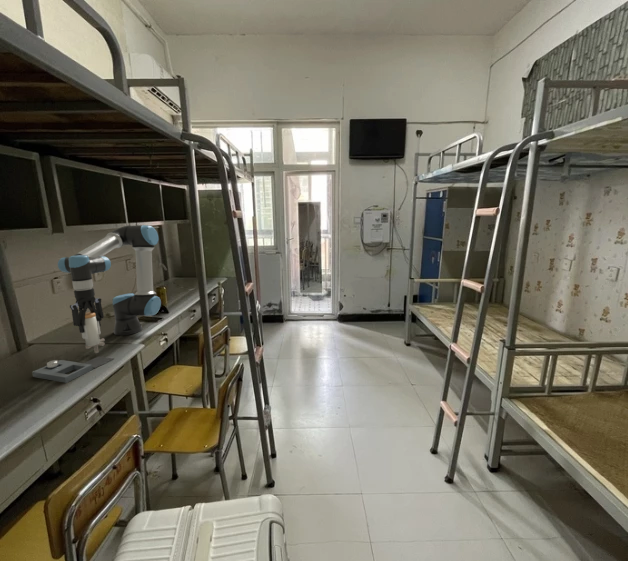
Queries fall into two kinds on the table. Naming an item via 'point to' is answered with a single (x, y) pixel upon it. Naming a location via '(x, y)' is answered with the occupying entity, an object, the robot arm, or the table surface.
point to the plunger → (52, 364)
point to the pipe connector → (97, 345)
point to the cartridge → (91, 329)
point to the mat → (98, 361)
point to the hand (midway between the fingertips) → (91, 336)
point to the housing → (63, 371)
